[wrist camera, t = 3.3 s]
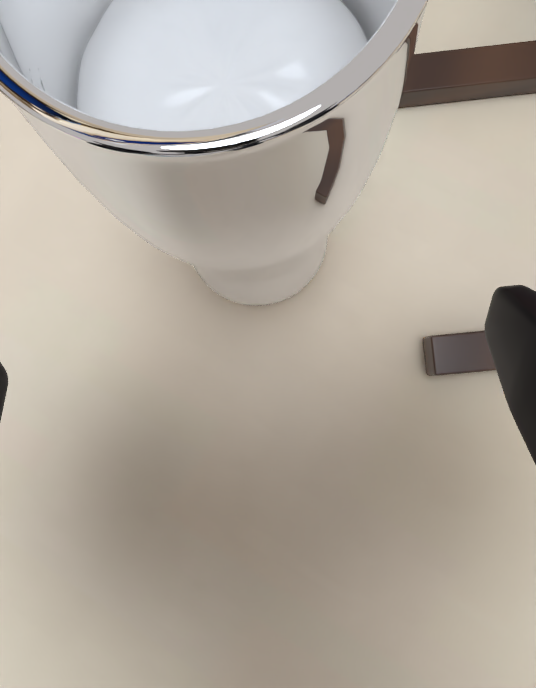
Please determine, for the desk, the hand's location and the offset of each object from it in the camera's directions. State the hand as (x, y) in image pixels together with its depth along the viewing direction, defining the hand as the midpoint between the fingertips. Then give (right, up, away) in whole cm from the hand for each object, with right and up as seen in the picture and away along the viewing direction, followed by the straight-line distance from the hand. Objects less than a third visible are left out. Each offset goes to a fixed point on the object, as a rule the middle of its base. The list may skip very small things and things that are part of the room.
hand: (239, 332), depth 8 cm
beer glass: (0, +4, +12) cm, 13 cm away
